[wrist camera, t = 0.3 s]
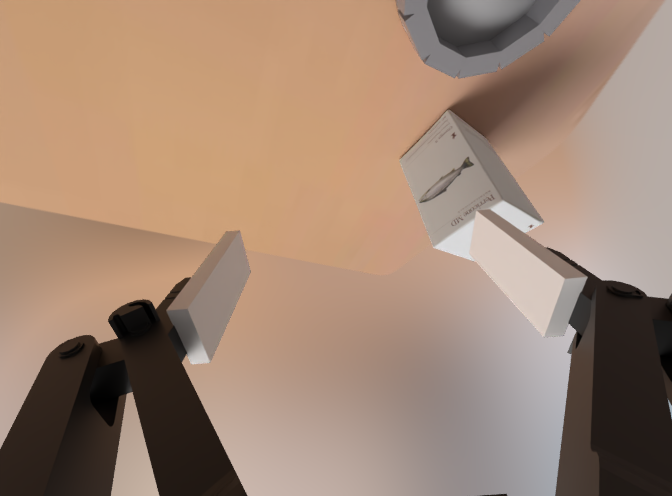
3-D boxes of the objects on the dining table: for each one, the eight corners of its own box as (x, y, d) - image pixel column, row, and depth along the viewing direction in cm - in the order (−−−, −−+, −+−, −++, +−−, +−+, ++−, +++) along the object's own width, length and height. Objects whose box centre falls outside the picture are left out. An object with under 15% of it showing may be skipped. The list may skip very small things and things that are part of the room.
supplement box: (447, 105, 28) (508, 198, 21) (487, 137, 32) (548, 224, 25) (396, 159, 33) (431, 249, 26) (435, 181, 37) (475, 264, 30)
